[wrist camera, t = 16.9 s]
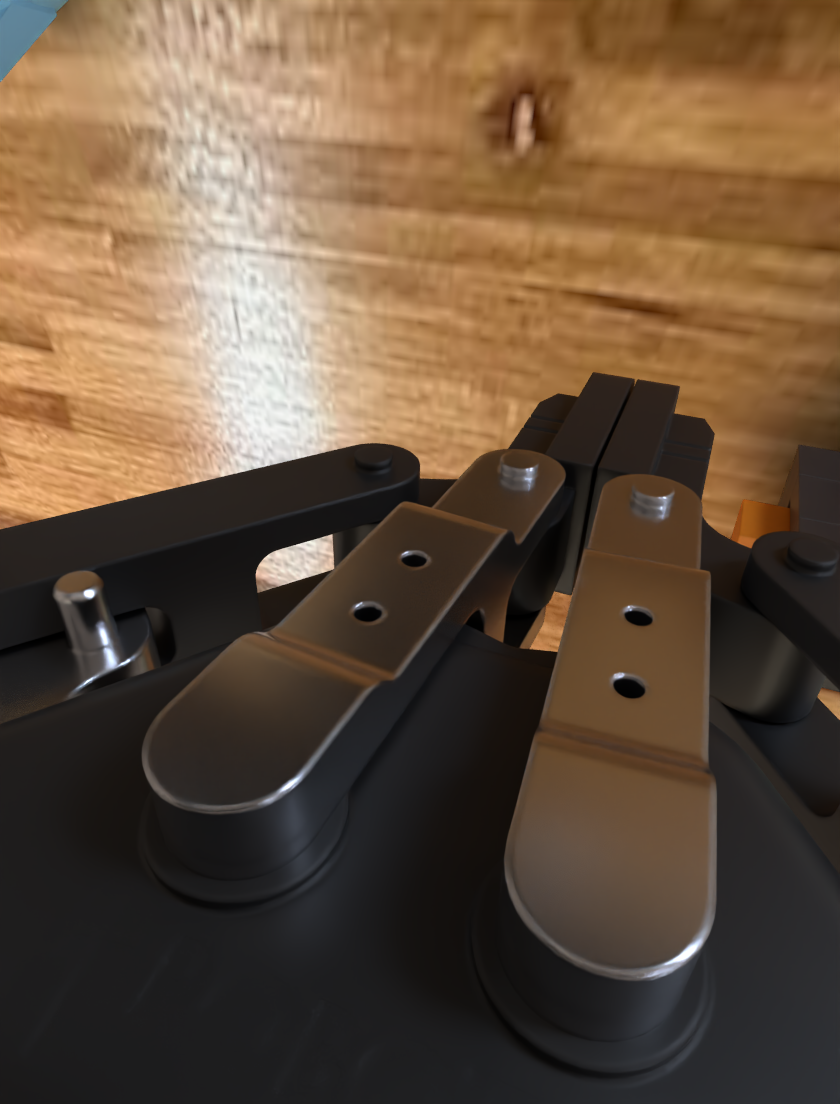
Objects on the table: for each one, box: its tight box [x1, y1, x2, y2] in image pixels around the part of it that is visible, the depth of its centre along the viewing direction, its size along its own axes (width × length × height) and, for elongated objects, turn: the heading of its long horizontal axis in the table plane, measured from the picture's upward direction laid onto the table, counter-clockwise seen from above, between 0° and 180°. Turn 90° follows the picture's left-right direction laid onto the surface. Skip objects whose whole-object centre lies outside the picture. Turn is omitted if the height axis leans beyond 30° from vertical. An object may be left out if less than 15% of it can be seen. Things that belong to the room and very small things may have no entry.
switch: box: [731, 499, 790, 548], centre depth 37 cm, size 2×4×4 cm, turn 178°
